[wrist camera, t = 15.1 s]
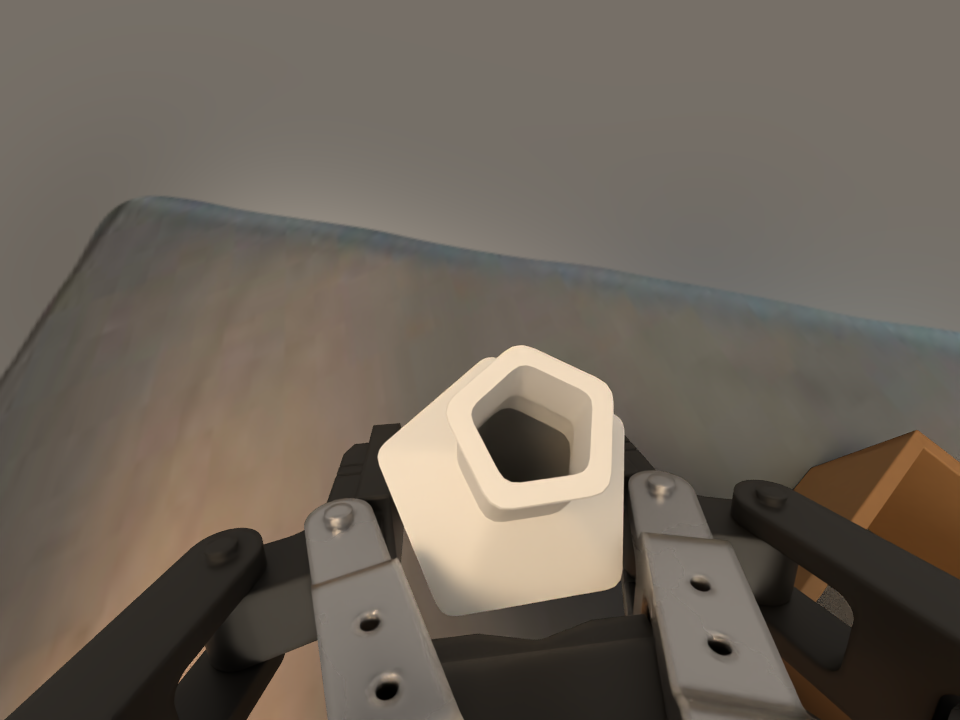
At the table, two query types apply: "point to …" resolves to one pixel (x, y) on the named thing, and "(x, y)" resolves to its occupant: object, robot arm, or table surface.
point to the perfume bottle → (512, 485)
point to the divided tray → (886, 516)
